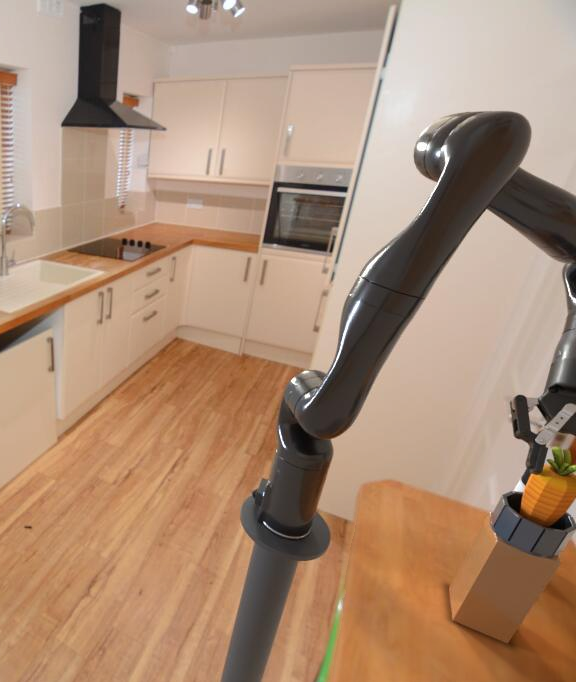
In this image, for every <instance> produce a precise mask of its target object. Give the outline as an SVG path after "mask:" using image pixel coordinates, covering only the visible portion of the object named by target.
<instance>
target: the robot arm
mask: <svg viewBox="0 0 576 682" xmlns="http://www.w3.org/2000/svg"><path fill="white" fill-rule="evenodd" d="M532 136H533V131H532V126H531V123H530V121H529V119H528V118H527V117H526V116H525V115H523V114H522V113H519V112H516V111H511V110H480V111H479V110H478V111H463V112H457V113H452V114H448V115H446V116H445V115H444V116H443V117H440V118H438V119H436V120H435V121H433V122H432V123H430V124H428V126H427V127H426V128H424V130H423V131H422V132H421V134H420V135H419V136H418V138H417V140H416V142H415V145H414V148H413V154H412V155H413V162H414V165H415V168H416V169H417V171H418V172H419V174H421V175H422V176H423V177H425V178H426V179H428V180H429V181H432V182H434V183H436V184H435V185H434V188H433V190H432V191H431V192H430V195H429V197H428V198H427V200H426V202H425V203H424V205H423V206H422V208H421V209H420V211H419V212H418V214H417V215H416V216H415V218H413V219H412V221H411V222H410V223H409V224H408V225H407V226H406V227H404V229H403V230H401V232H399V233H398V234H396V236H394V237H393V238H392V239H391V240H390V241H389V242H387V243H386V244H385V245H384V246H383V247H381V248H380V249H379V250H378V251H377V252H376V253H374V254H373V256H372V257H370V258H369V259H368V261H367V262H366V263H365V265H364V266H363V267H362V269H361V270H360V272H359V275H358V276H357V278H356V279H355V282H354V283H353V285H352V286H351V288H350V290H349V292H348V294H347V296H346V298H345V301H344V304H343V306H342V310H341V315H340V321H339V329H338V339H337V345H336V351H335V353H334V354H335V355H334V358H333V360H332V363H331V364H330V367H329V369H328V371H327V372H326V371H322V370H318V369H307V370H303V371H301V372H298V373H297V374H296V375H294V376H293V377H292V378H291V379H290V380H289V381H288V382H287V384H286V385H285V388H284V390H283V393H282V396H281V400H280V405H279V410H278V415H277V420H276V421H277V422H276V438H277V442H276V446H275V450H274V454H273V459H272V463H271V468H270V471H269V476H268V479H267V478H264V477H261V479H260V482H259V484H258V487H257V488H255V489H254V490H252V491H251V495H252V496H253V498H254V499H255V501H254V503H255V504H257V505H260V506H261V508H260V512H259V516H258V520H257V522H259V523H261V524H263V525H264V526H265V527H266V528H267V529H268V530H269V531H270V532H271V533H273V534H275V535H276V536H278V537H281V538H284V539H287V540H302V539H304V538H306V537H307V536H308V535H309V533H310V530H311V526H312V522H313V519H314V516H315V513H316V511H317V509H318V505H319V502H320V499H321V496H322V493H323V490H324V487H325V484H326V481H327V477H328V474H329V471H330V467H331V464H332V461H333V458H334V454H335V453H334V452H335V451H334V449H335V448H334V445H333V441H332V440H333V439H336V438H338V437H340V436H342V435H343V434H344V433H346V432H347V431H348V430H349V429H350V428H351V427H352V426H353V425H354V423H355V422H356V420H357V419H358V417H359V415H360V413H361V411H362V409H363V407H364V405H365V402H366V401H367V398H368V396H369V394H370V392H371V390H372V388H373V386H374V385H375V384H374V383H375V382H376V380H377V377H378V376H379V374H380V372H381V371H382V369H383V367H384V365H385V364H386V362H387V360H388V359H389V357H390V356H391V354H392V352H393V351H394V349H395V347H396V345H397V344H398V342H399V340H400V338H401V337H402V335H403V334H404V332H405V331H406V329H407V328H408V326H409V325H410V323H412V321H413V319H414V318H415V316H416V315H417V313H418V312H419V310H420V308H421V307H422V306H423V304H424V302H425V301H426V299H427V298H428V296H429V294H430V293H431V291H432V289H433V287H434V285H435V284H436V282H437V280H438V279H439V278H440V276H441V274H442V273H443V271H444V270H445V269H446V267H447V266H448V264H449V262H450V261H451V259H452V258H453V257H454V255H455V253H456V252H457V251H458V249H459V247H460V246H461V244H462V243H463V241H464V239H465V238H466V237H467V236H468V235H469V233H470V231H471V230H472V229H473V227H474V226H475V225H476V223H477V222H478V221H479V220H480V218H481V217H482V216H483V214H484V213H485V212H486V211H489V212H490V213H492V214H493V215H494V216H496V217H497V218H499V219H501V220H502V221H503V222H504V223H506V224H507V225H509V226H510V227H511V228H512V229H514V230H515V231H516V232H518V233H519V234H520V235H522V236H523V237H524V238H525V239H526V240H527V241H529V242H530V243H531V244H533V245H534V246H535V247H537V248H538V249H539V250H540V251H542V252H543V253H545V254H546V256H548V257H550V258H551V259H553V260H554V261H555V262H558V263H563V264H564V265H563V267H562V269H561V279H562V284H563V288H564V294H565V300H566V301H565V302H566V312H567V313H566V318H565V322H564V325H563V329H562V333H561V335H560V339H559V340H558V343H557V345H556V346H555V349H554V352H553V356H552V359H551V364H550V367H549V371H548V374H547V378H546V382H545V385H544V388H543V393H542V394H541V395H540V396H539V397H527V396H525V395H524V394H517V395H515V396H514V397H513V398H512V399H511V400H510V401H509V408H510V417H511V426H512V431H513V432H512V433H513V437H514V438H515V439H516V440H521V441H523V442H524V443H526V444H527V445H528V447H529V448H528V451H527V456H526V460H525V463H524V465H525V468H526V469H527V468H529V469H530V473H531V474H535V475H539V474H541V473H542V470H543V467H544V465H545V463H546V460H547V459H546V458H547V456H548V451H549V447H547V444H548V443H549V442H550V441H551V440H552V439H553V437H554V436H555V435H556V434H557V433H560V434H564V435H565V434H567V435H571V436H574V437H576V195H575V194H574V193H572V192H570V191H568V190H567V189H565V188H562V187H560V186H559V185H556V184H554V183H551V182H550V181H547V180H546V179H543V178H542V177H539V176H537V175H534V174H533V173H531V172H529V171H527V170H526V169H523V168H522V167H521V164H522V163H523V162H524V160H525V158H526V155H527V154H528V151H529V148H530V146H531V141H532V138H533V137H532ZM534 407H536V408H537V409H538V411H539V413H540V414H541V416H542V417H543V419H544V420H545V423H543V425H542V426H541V427H540V428H539V430H538V431H537V433H535V432H534V431H532V427H531V419H530V413H531V412H532V411H533V410H534Z"/></svg>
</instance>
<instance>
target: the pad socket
mask: <svg viewBox="0 0 576 682" xmlns="http://www.w3.org/2000/svg"><path fill="white" fill-rule="evenodd" d="M523 493H524V492H517V491H514V490H510V491H507V492H506V493H503V494H502V495H501V496H500V499H499V500H498V501H497V504H496V506H495V508H494V510H493V511H489V512H488V514H487V516H486V518H485V520H484V521H483V524H482V525H481V527H480V529H479V531H478V533H477V534H476V536H475V538H474V540H473V542H472V544H471V546H470V548H469V550H468V552H467V553H466V555H465V557H464V559H463V561H462V563H461V565H460V567H459V568H458V570H457V572H456V574H455V576H454V578H453V579H452V581H451V583H450V585H449V587H448V593H449V602H450V610H451V619H452V621H453V622H455V623H458V624H461V625H462V626H465V627H467V628H470V629H472V630H474V631H476V632H478V633H481V634H484V635H486V636H488V637H491V638H494V639H495V640H497V641H500V642H502V643H504V644H509V642H510V641H511V639H512V638H513V636H514V635H515V634H516V632H517V630H518V629H519V627H520V626H521V625H522V623H523V621H524V620H525V619H526V617H527V616H528V615H529V613H530V611H531V609H532V608H533V607H534V605H535V603H536V602H537V601H538V599H539V597H540V596H541V594H542V593H543V592H544V590H545V589H546V587H547V586H548V584H549V582H550V581H551V580H552V578H553V577H554V575H555V574H556V572H557V571H558V569H559V568H560V566H561V565H562V561H561V559H560V557H559V555H560V553H562V552H563V551H564V550H565V548H566V547H567V545H568V544H569V542H570V540H571V539H572V537H573V536H574V534H575V533H576V520H575V519H574V517H573V516H572V515H571V514H570V513H568V511H566V513H565V514H564V515H563V516H561V517H560V518H559V519H558V520H557V521H556V522H555V523H554V524H552V525H551V526H549V527H547V528H546V527H543V526H541V525H538V524H536V523H534V522H532V521H530V520H527V519H525V518H523V517H522V516H521V515H520V509H521V502H522V497H523Z"/></svg>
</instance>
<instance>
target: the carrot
mask: <svg viewBox="0 0 576 682" xmlns="http://www.w3.org/2000/svg"><path fill="white" fill-rule="evenodd" d="M551 454H552V457H553V459H551V458H547V459H546V462H547V463H548V464H544V467H543V470H542V473H541V474H539V475H535V474H531V475H530V477H529V479H528V482H527V484H526V487H525V489H524V493H523V497H522V502H521V509H520V515H521V516H522V517H523V518H525V519H527V520H530V521H532V522H534V523H536V524H538V525H541V526H543V527H546V528H547V527H549V526H551V525H552V524H554V523H555V522H556V521H557V520H558V519H559V518H560V517H561V516H563V515H564V514H565V513H566V512H568V510H570V509H569V508H570V507H571V506H572V504H573V503H574V502H575V501H576V474H574V473H575V472H576V463H575V464H572V454H571V450H569V449H566V448H565V449H562V447H561V446H557V445H555V446H552V447H551ZM571 464H572V465H571Z"/></svg>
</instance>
